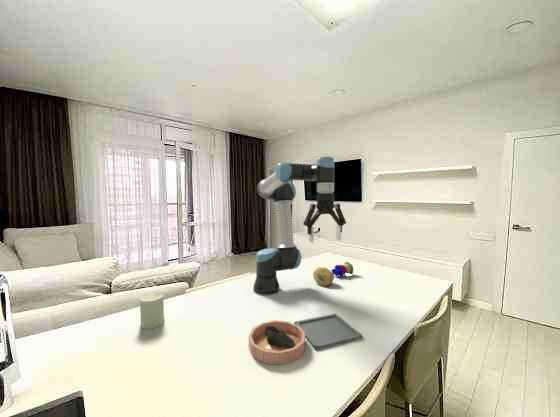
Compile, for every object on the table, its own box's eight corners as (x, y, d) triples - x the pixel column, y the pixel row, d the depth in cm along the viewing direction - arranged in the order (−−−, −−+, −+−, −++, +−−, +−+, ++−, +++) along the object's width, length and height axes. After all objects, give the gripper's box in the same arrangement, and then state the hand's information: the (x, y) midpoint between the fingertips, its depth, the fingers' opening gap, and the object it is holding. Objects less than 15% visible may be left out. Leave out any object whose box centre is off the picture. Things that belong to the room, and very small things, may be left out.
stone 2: (336, 284, 149) (336, 268, 149) (324, 288, 143) (325, 271, 143) (321, 279, 159) (321, 264, 159) (310, 282, 153) (310, 266, 153)
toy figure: (339, 282, 160) (357, 275, 166) (338, 269, 158) (356, 262, 164) (331, 277, 168) (347, 270, 174) (330, 264, 166) (347, 258, 172)
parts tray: (294, 324, 103) (294, 321, 103) (335, 316, 110) (335, 313, 110) (315, 350, 86) (315, 346, 86) (362, 338, 93) (362, 335, 93)
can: (169, 319, 108) (168, 293, 107) (152, 330, 99) (151, 301, 98) (153, 316, 111) (152, 290, 110) (135, 326, 102) (134, 298, 101)
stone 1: (289, 356, 82) (289, 341, 82) (259, 342, 90) (259, 328, 89) (299, 346, 88) (300, 332, 87) (270, 333, 95) (271, 320, 95)
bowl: (244, 336, 95) (244, 326, 94) (291, 326, 102) (291, 317, 101) (257, 371, 76) (257, 358, 76) (314, 356, 83) (314, 344, 83)
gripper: (303, 192, 99) (303, 244, 100) (354, 192, 107) (353, 240, 108) (295, 192, 106) (295, 241, 107) (344, 192, 114) (343, 237, 115)
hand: (325, 240), depth 108 cm, fingers open, 13 cm apart
